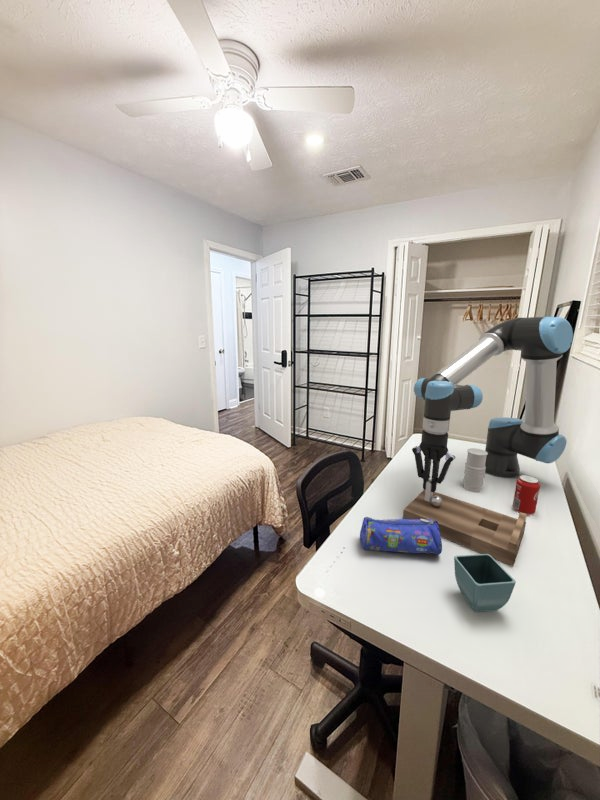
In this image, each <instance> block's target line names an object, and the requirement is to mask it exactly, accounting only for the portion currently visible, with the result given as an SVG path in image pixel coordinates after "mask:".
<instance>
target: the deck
mask: <svg viewBox="0 0 600 800" xmlns="http://www.w3.org/2000/svg"><path fill="white" fill-rule="evenodd" d="M435 495H437V496H439V497H441V498H442V501H443V503H442V505H441V506H439V507H435V506H433V505H432V503H431V500H430V501H429V502H428V501H425V489H422V491H421V492H420V493H418V495H417V496H415V498H413V500H411V502H410V503H408V505H406V506H405V507H404V508H403V510H402V511H403V512H402V513H403V514H402V519H409V520H412V519H413V520H416V519H418V520H420V519H431V520H433V521H438V527H439V529H440V532H439V533H440V536H441V537H442V538H443V539H446V540H448V541H451V542H453V543H455V544H457V545H460V546H462V547H465V548H468V549H470V550H471V551H472V550H473V551H475V552H477V553H479V554H489V555H491V556H492V557H493V558H494V559H495V561H499V562H501V563H503V564H506V565H508V566H510V567H514V566H515V563H516V560H517V556H518V554H519V550H520V547H521V545H522V541H523V538H524V536H525V535H524V534H525V530H526V524H527V522H526V520H527V519H526V518H527V515H526V514H525V513H521V512H520V514H518V517H517V518H516V517H512V516H509V515H507V514H504V513H500V512H497V511H493V510H491V509H488V508H485V507H482V506H479V505H476V504H472V503H470V502H466V501H464V500H461V499H458V498H455V497H451V496H449V495H446V494H442V493H440V492H438V491H437V492H436V491H435V492H433V496H435ZM433 496H432V497H433Z"/></svg>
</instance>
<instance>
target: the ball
mask: <svg viewBox="0 0 600 800" xmlns="http://www.w3.org/2000/svg"><path fill="white" fill-rule="evenodd" d="M431 503H432V505H433V506H435V507H439V506H441V505H442V503H443V501H442V498H441V497H439V496H437V495H435V496H433V497H432V498H431Z"/></svg>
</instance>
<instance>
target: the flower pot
mask: <svg viewBox="0 0 600 800" xmlns="http://www.w3.org/2000/svg"><path fill="white" fill-rule="evenodd" d="M453 559H454V563H453V564H454V576H455V581H456V584H457V588H458V589H459V591H460V593H461V595H462V596H463V597H464V599H465V600H466V602H467V603H468V604H469V606H470V607H471V609H472V610H473V612H474V613H475V612H476V613H481V612H493V611H494V612H495V611H498V610H499V609H501V608H503V607H504V606H505V605H506V604H507V603H508V602H509V601H510V599H511V596H512V593H513V591H514V589H515V587H516V586H515V585H516V583H517V582H516V579H515V578H513V577H512V576H511V575H510V573H508V572H507V570H506V569H504V568H503V567H502V566H501V564H499V562H497V560H496V559H494V558H493V557H492V556H491V555H489V554H481V553H479V554H467V555H455V556H454V557H453Z"/></svg>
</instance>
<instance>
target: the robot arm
mask: <svg viewBox="0 0 600 800" xmlns="http://www.w3.org/2000/svg"><path fill="white" fill-rule="evenodd" d="M573 337H574V331H573V327H572V325H571V324H570V322H569V321H568V320H567V319H566V318H564V317H562V316H561V317H560V316H558V317H557V316H549V315H548V316H533V317H532V316H531V317H515V318H510V319H507V320H504V321H502V322H500V323H498V324H496V325H494V326H493V327H491V328H489V329H488V330H486V331H485V332H484V333H482V334H481V335H480V336H479V338H478V340H477V341H476V342H475V343H474V344H472V345H471V346H470V347H468V349H466V350H464V352H462V353H461V354H459V355H458V356H457V357H455V358H454V359H453V360H452V361H450V362H449V363H447V364H446V365H445V366H444V367H442V368H441V369H440V370H438V371H437V372H436V373H435V374H433V375H432V376H431V377H429V378H427V377H421V378H419V379H418V380H416V381H415V383H414V386H413V392H414V396H416V397H417V398H419V399H421V400H424V409H423V420H422V430H421V438H420V439H421V442H420V444H419V445H416V446H414V447H413V448H412V449H411V450H412V453H413V455H414V457H415V458H414V459H415V465H416V466H415V467H416V473H417V476H418V478H421V479H422V481H423V483H422V490H424V489H425V501H428V502H429V501H430V500H431V498H432V496H433V492H436V491H437V485H438V484H441V483H442V482H444V480H445V478H446V475H447V473H448V470H449V468H450V466H451V463H452V462H453V461H455V459H456V456H455V455H454V454H453V455H452V454H451V453H450V452H449V449H448V442H449V441H448V439H449V433H448V432H449V431H450V422H451V421H450V420H451V412H455V411H463V410H471V409H474V408H478V407H479V406H480V405H481V404H482V402H483V397H484V396H483V391H482V389H481V388H479V387H478V386H477V385H474V384H465V385H463V384H462V385H460V384H459V383H460V382H462V381H464V379H466V378H467V377H468V376H469V375H471V374H472V373H473V372H474V371H476V370H477V369H479V367H481V366H482V365H483V364H485V363H486V362H488V360H490V359H491V358H493V357H494V356H495V357H497V356H498V355H500V354H502V353H503V352H507V351H520V359H522V360H523V361H525V402H524V403H525V405H524V406H525V407H524V410H525V413H524V414H525V415H524V419H525V420H524V421H523V420H522V419H521V418H516V417H494V418H492V419H490V420H489V423H488V427H487V433H486V434H487V435H486V441H485V442H486V443H485V449H484V451H486V452H487V453H488V455H487V456H486V463H485V466H486V469H485V474H488V475H492V476H495V477H500V478H509V479H510V478H511V479H512V478H517V477H520V472H521V468H520V464H519V460H518V459H519V458H518V455H521V456H524V457H526V458H530V459H532V460H533V461H537V462H540V463H544V464H552V463H554V462H556V461H558V459H560V457H561V456H562V455H563V453H564V451H565V449H566V446H567V438H566V436H564V435H562V434H560V431H559V430H560V427H559V425H557V424H556V423H555V404H556V403H555V402H556V382H557V363H558V362H557V361H559V360H560V359H561V358H563V356H564V355H563V354H564V353H566V352H567V351H568V350H569V349H570V348H571V346H572V344H571V343H573ZM422 454H423V455H422ZM422 456H424V460H423V457H422ZM444 457H445V462H444V463H443V466H442V468H441V470H440V462H441V459H443V458H444ZM423 461H424V464H423ZM431 467H432V470H431ZM439 472H440V473H439Z"/></svg>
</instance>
